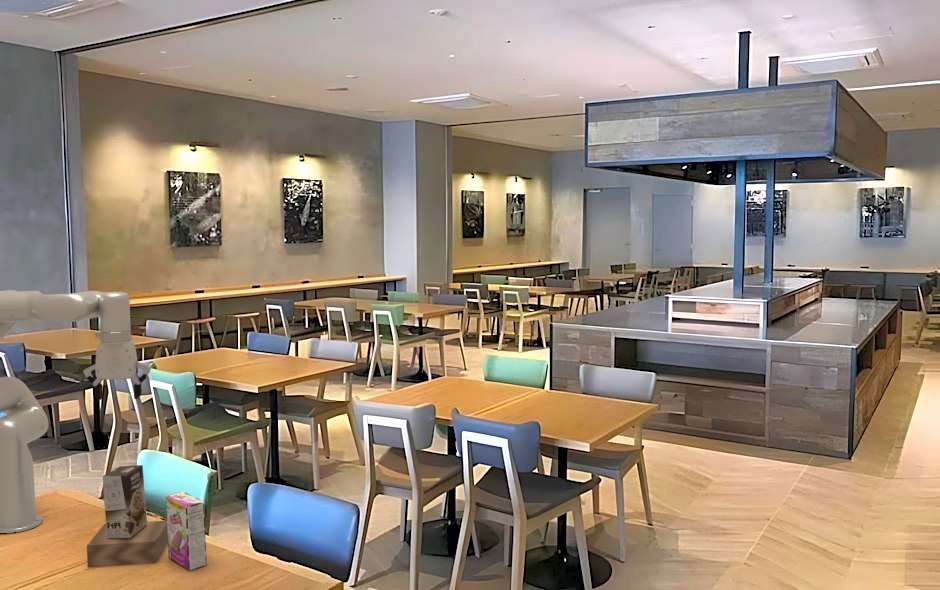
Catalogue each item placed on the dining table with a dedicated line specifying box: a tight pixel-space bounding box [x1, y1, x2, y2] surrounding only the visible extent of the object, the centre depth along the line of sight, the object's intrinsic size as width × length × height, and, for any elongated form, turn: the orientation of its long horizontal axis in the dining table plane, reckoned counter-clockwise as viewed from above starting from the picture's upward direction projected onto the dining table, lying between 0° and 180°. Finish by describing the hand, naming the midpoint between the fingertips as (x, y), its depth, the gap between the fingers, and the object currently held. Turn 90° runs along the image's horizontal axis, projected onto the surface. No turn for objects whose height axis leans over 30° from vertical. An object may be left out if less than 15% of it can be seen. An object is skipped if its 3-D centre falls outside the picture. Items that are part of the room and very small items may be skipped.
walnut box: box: [86, 519, 168, 568], centre depth 197 cm, size 16×14×6 cm
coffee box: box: [102, 464, 148, 538], centre depth 196 cm, size 9×6×16 cm
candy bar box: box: [165, 491, 207, 572], centre depth 191 cm, size 11×5×16 cm, turn 47°
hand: (118, 398), depth 212 cm, fingers open, 9 cm apart
